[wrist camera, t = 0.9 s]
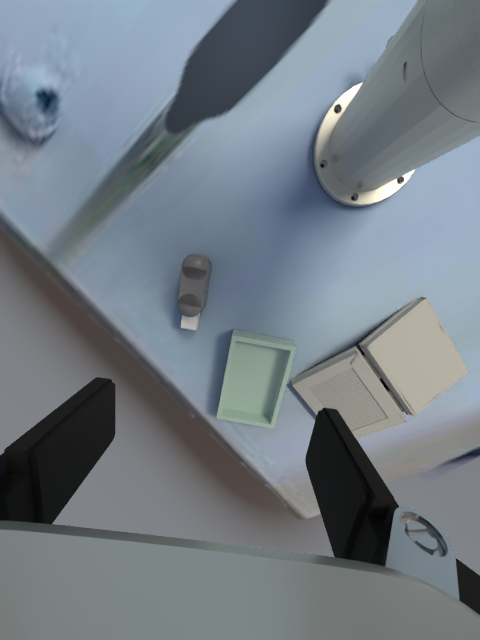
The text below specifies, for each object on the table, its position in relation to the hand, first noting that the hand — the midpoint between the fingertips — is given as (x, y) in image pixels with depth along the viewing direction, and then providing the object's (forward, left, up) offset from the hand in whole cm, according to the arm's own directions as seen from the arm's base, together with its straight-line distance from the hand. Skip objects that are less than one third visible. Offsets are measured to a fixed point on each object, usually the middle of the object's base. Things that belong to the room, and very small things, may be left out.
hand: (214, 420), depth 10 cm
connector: (-1, -6, -24) cm, 25 cm away
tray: (+11, +5, -24) cm, 27 cm away
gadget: (+7, +24, -25) cm, 35 cm away
